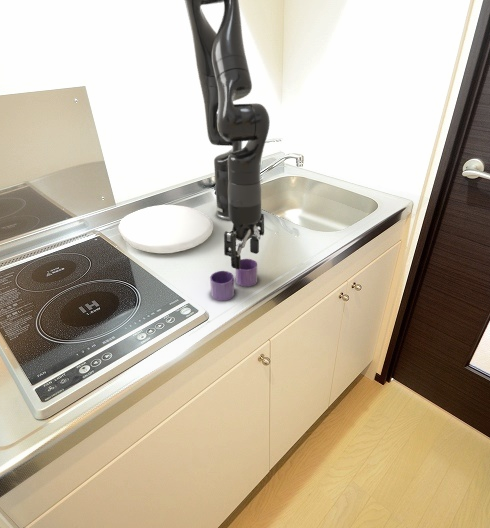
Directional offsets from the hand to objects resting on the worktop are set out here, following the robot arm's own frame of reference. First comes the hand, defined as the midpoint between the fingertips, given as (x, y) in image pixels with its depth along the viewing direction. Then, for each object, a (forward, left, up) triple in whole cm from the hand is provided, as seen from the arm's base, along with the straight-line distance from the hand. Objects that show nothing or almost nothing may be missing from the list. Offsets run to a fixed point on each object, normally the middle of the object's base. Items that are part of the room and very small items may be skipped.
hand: (245, 260), depth 91 cm
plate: (-4, -35, -7) cm, 36 cm away
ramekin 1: (+8, -1, -6) cm, 10 cm away
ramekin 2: (0, 0, -6) cm, 6 cm away
